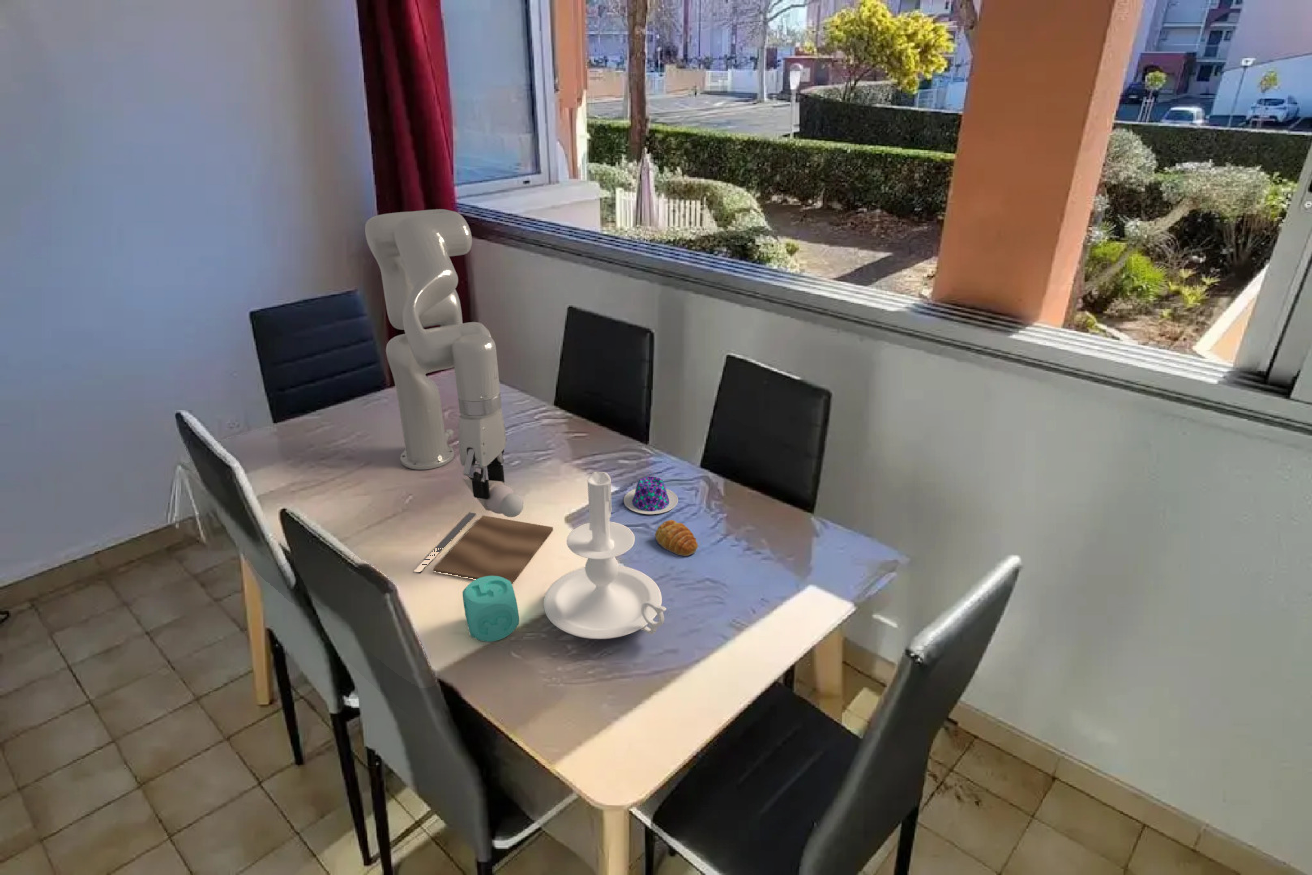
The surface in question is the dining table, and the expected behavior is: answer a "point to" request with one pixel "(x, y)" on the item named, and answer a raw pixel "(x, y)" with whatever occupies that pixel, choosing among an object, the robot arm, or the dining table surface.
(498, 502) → the ice cream cone
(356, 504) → the dining table surface
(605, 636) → the candlestick
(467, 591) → the decorative dice
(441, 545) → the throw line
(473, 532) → the board
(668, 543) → the pastry
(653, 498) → the pudding
